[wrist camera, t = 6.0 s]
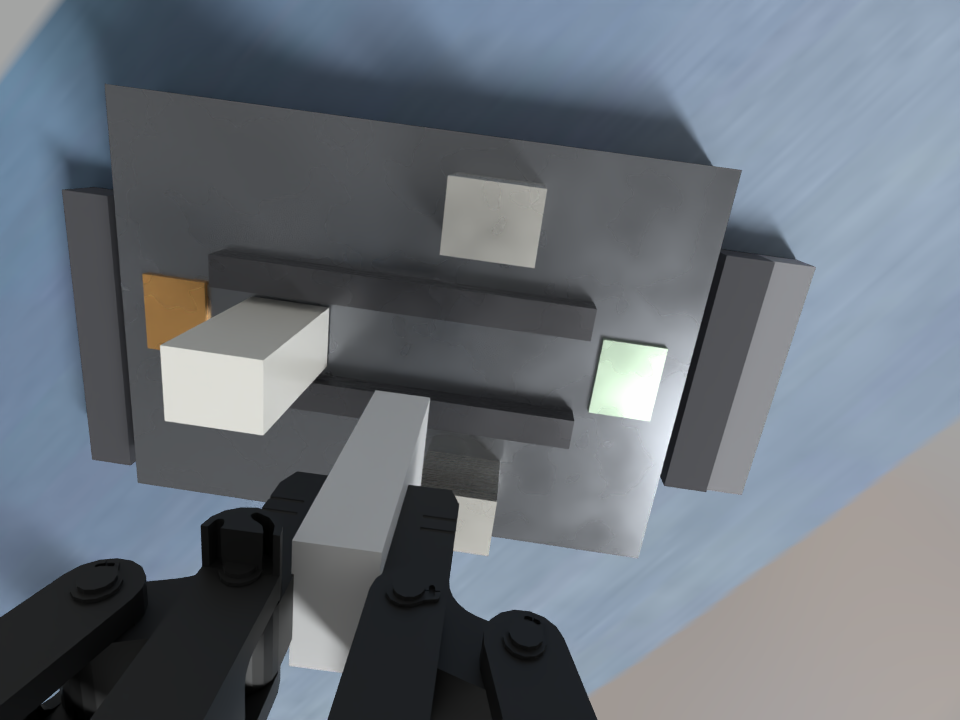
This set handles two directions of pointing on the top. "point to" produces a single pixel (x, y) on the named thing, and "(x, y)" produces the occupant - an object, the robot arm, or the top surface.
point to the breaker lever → (244, 365)
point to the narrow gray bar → (734, 370)
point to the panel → (423, 302)
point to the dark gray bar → (100, 321)
